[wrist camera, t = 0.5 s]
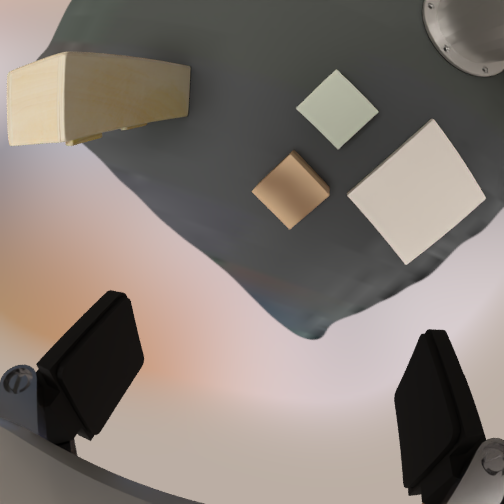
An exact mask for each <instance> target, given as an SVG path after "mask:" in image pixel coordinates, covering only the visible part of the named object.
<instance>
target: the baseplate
mask: <svg viewBox="0 0 504 504" xmlns="http://www.w3.org/2000/svg"><path fill="white" fill-rule="evenodd" d="M347 196H348V197H349V198H350V199H351V200H352V201H353V202H354V204H355V205H356V206H357V207H358V208H359V209H360V210H361V212H362V213H363V214H364V215H365V216H366V217H367V218H368V220H369V221H370V222H371V223H372V224H373V225H374V227H375V228H376V229H377V230H378V231H379V233H380V234H381V235H382V236H383V237H384V239H385V240H386V241H387V242H388V243H389V245H390V246H391V247H392V248H393V250H394V251H395V252H396V253H397V255H398V256H399V257H400V258H401V260H402V261H403V262H404V263H405V265H407V264H408V263H409V262H411V261H412V260H413V259H415V258H416V257H417V256H419V255H420V254H421V253H422V252H424V251H425V250H426V249H427V248H429V247H430V246H431V245H432V244H434V243H435V242H436V241H437V240H439V239H440V238H441V237H442V236H443V235H445V234H446V233H447V232H448V231H449V230H451V229H452V228H453V227H454V226H455V225H457V224H458V223H459V222H460V221H461V220H462V219H464V218H465V217H466V216H467V215H468V214H469V213H470V212H472V211H473V210H474V209H475V208H476V207H477V206H478V205H479V204H480V203H482V202H483V201H484V200H485V199H486V197H485V196H484V194H483V192H482V190H481V189H480V187H479V185H478V184H477V182H476V180H475V179H474V177H473V175H472V174H471V172H470V171H469V169H468V167H467V166H466V164H465V163H464V161H463V160H462V158H461V157H460V155H459V154H458V152H457V151H456V149H455V148H454V146H453V145H452V143H451V142H450V141H449V139H448V138H447V136H446V135H445V134H444V132H443V131H442V130H441V128H440V127H439V126H438V124H437V123H436V122H435V120H434V119H430V120H429V121H428V122H427V123H426V124H425V125H424V126H422V127H421V128H420V129H419V130H418V131H417V132H416V133H415V134H414V135H412V136H411V137H410V138H409V139H408V140H407V141H406V142H405V143H403V144H402V145H401V146H400V147H399V148H398V149H397V150H396V151H394V152H393V153H392V154H391V155H390V156H389V157H388V158H386V159H385V160H384V161H383V162H382V163H381V164H380V165H379V166H377V167H376V168H375V169H374V170H373V171H372V172H371V173H369V174H368V175H367V176H366V177H365V178H364V179H363V180H361V181H360V182H359V183H358V184H357V185H356V186H354V187H353V188H352V189H351V190H350V191H349V192H348V193H347Z"/></svg>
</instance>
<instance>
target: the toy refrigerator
mask: <svg viewBox="0 0 504 504" xmlns="http://www.w3.org/2000/svg"><path fill="white" fill-rule="evenodd" d="M190 70H191V68H190V66H186V65H181V64H176V63H170V62H165V61H159V60H153V59H146V58H138V57H131V56H123V55H113V54H102V53H89V52H63V53H59V54H55V55H52V56H49V57H46V58H44V59H41V60H38V61H35V62H33V63H30V64H28V65H25V66H22V67H20V68H17V69H15V70H12V71H11V72H9V73H8V76H7V120H8V121H7V122H8V123H7V124H8V138H9V145H10V146H19V145H30V144H43V143H58V142H66V145H67V146H73V145H77V144H79V143H83V142H87V141H90V140H94V139H98V138H101V137H102V132H107V131H111V130H115V129H121V130H128V129H132V128H137V127H141V126H145V125H147V123H149V122H154V121H160V120H166V119H172V118H179V117H186V116H187V115H188V109H189V90H190Z"/></svg>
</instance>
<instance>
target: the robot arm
mask: <svg viewBox="0 0 504 504" xmlns="http://www.w3.org/2000/svg"><path fill="white" fill-rule="evenodd" d="M428 6H429V7H430V8H431V9H430V8H429V7H428ZM422 14H423V22H424V25H425V29H426V31H427V34H428V36H429V38H430V40H431V41H432V43H433V45H434V46H435V48H436V49H437V50H438V51H439V53H440V54H441V55H442V56H443V57H444V58H445V59H446V60H447V61H448V62H449V63H451V64H452V65H453V66H455V67H456V68H457V69H459V70H461V71H463V72H465V73H468V74H471V75H473V76H480V77H486V76H492V75H496V74H498V73H500V72H502V71H503V70H504V0H424V2H423V9H422ZM443 48H445V50H446V51H444V49H443ZM482 69H483V70H484V72H483V70H482ZM143 363H144V356H143V351H142V348H141V343H140V340H139V335H138V331H137V327H136V323H135V318H134V314H133V309H132V305H131V301H130V299H128V298H127V296H126V294H125V293H121V292H116V291H111V290H110V291H108V292H106V293H105V294H104V295H103V296H102V297H101V298H100V299H99V300H98V301H97V302H96V303H95V304H94V305H93V306H92V307H91V308H90V309H89V310H88V311H87V312H86V313H85V314H84V315H83V316H82V317H81V318H80V319H79V320H78V321H77V322H76V323H75V324H74V325H73V326H72V327H71V328H70V329H69V330H68V331H67V332H66V333H65V334H64V335H63V336H62V337H61V338H60V339H59V340H58V341H57V342H56V343H55V344H54V346H53V347H52V348H51V349H50V350H49V351H48V352H47V353H46V354H45V355H44V356H43V357H42V358H41V360H40V361H39V362H38V363H37V366H38V368H39V369H38V371H37V372H35V370H34V369H33V368H32V367H30V366H28V365H17V366H14V367H12V368H10V369H9V370H7V371H6V372H5V373H4V374H3V376H2V378H1V380H0V504H204V503H199V502H196V501H192V500H188V499H185V498H182V497H178V496H175V495H172V494H168V493H165V492H162V491H159V490H156V489H153V488H151V487H148V486H145V485H142V484H139V483H137V482H134V481H132V480H129V479H126V478H124V477H121V476H119V475H116V474H114V473H112V472H110V471H107V470H105V469H103V468H101V467H98V466H96V465H94V464H92V463H90V462H88V461H86V460H84V459H82V458H80V457H78V456H77V451H76V446H75V440H74V437H75V436H76V434H78V435H79V436H82V437H84V438H86V439H88V440H90V441H91V440H92V438H93V437H94V435H97V434H99V433H100V431H101V430H102V428H103V427H104V425H105V424H106V422H107V420H108V419H109V417H110V416H111V414H112V412H113V411H114V409H115V407H116V406H117V404H118V403H119V401H120V400H121V398H122V397H123V395H124V394H125V392H126V390H127V389H128V387H129V386H130V384H131V383H132V381H133V379H134V378H135V376H136V375H137V373H138V372H139V370H140V369H141V367H142V365H143ZM394 402H395V409H396V415H397V423H398V432H399V440H400V449H401V460H402V472H403V484H404V487H405V488H408V493H409V496H411V495H420V494H421V495H422V502H423V503H422V504H504V440H502V439H500V438H491V439H488V440H486V438H485V434H484V431H483V428H482V424H481V421H480V418H479V415H478V412H477V409H476V406H475V403H474V400H473V397H472V394H471V391H470V388H469V386H468V383H467V381H466V378H465V375H464V374H463V372H462V369H461V366H460V364H459V361H458V359H457V356H456V354H455V351H454V349H453V347H452V344H451V342H450V340H449V337H448V335H447V333H446V331H445V330H431V329H429V330H427V331H426V333H425V334H421V336H420V337H419V340H418V342H417V345H416V347H415V350H414V352H413V354H412V357H411V359H410V361H409V364H408V366H407V368H406V371H405V373H404V375H403V377H402V379H401V381H400V384H399V386H398V388H397V390H396V393H395V397H394Z"/></svg>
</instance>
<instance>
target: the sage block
mask: <svg viewBox="0 0 504 504" xmlns="http://www.w3.org/2000/svg"><path fill="white" fill-rule="evenodd" d="M296 109H297V110H298V111H299V112H300V113H301V114H302V115H303V116H304V117H306V118H307V119H308V120H309V121H310V122H311V123H312V124H313V125H314V126H315V127H316V128H317V129H318V130H319V131H320V132H321V133H322V134H323V135H324V136H325V137H326V138H327V139H328V140H329V141H330V142H331V143H332V144H333V145H334V146H335V147H336V148H337V149H339V148H340V147H341V146H342V145H344V144H345V143H346V142H347V141H348V140H349V139H350V138H351V137H352V136H353V135H354V134H355V133H356V132H358V131H359V130H360V129H361V128H362V127H363V126H364V125H365V124H366V123H367V122H368V121H369V120H371V119H372V118H373V117H374V116H375V115H376V114H377V113H378V110H377V109H376V108H375V107H374V106H373V105H372V104H371V103H370V102H369V101H368V100H367V99H366V98H365V97H364V96H363V95H362V94H361V93H360V92H359V91H358V90H357V89H356V88H355V87H354V86H353V85H352V84H351V83H350V82H349V81H348V80H347V79H346V78H345V77H344V76H343V75H342V74H341V73H340V72H339V71H338V70H335V71H334V72H333V73H332V74H331V75H330V76H329V77H328V78H327V79H326V80H325V81H323V82H322V83H321V84H320V85H319V86H318V87H317V88H316V89H315V90H314V91H313V92H312V93H311V94H310V95H309V96H308V97H307V98H306V99H305V100H304V101H303V102H302V103H301V104H300V105H299V106H298V107H297V108H296Z"/></svg>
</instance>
